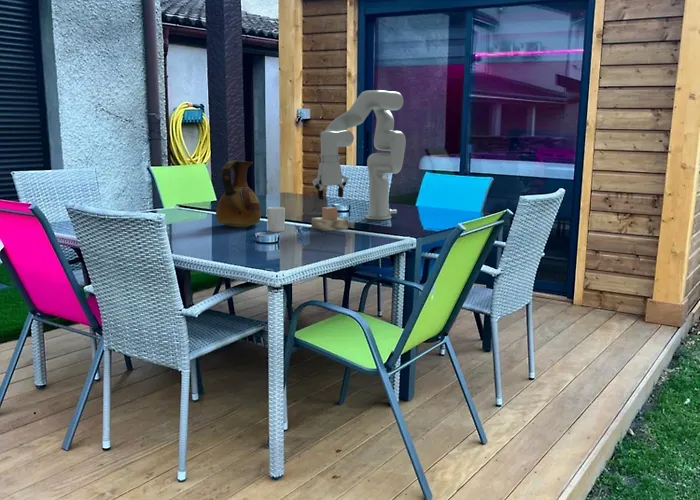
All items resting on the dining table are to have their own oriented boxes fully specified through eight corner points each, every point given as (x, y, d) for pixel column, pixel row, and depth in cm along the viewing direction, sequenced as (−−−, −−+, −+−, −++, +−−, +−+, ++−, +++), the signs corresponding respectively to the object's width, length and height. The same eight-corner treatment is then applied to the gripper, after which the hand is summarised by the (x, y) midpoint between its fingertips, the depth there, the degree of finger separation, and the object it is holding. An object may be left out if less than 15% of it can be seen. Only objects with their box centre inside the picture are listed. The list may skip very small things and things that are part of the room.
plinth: (335, 224, 310) (335, 216, 309) (347, 228, 299) (347, 219, 298) (311, 226, 304) (311, 218, 303) (323, 230, 294) (323, 221, 293)
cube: (332, 217, 304) (332, 206, 303) (337, 219, 300) (337, 208, 299) (322, 218, 302) (322, 207, 301) (327, 220, 297) (327, 208, 296)
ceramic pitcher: (269, 225, 308) (268, 159, 302) (244, 232, 290) (242, 162, 284) (233, 222, 316) (231, 157, 310) (207, 228, 298) (204, 160, 292)
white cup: (282, 232, 289) (282, 209, 287) (264, 231, 291) (264, 208, 289) (287, 229, 297) (287, 207, 295) (270, 228, 298) (270, 206, 296)
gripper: (343, 157, 303) (343, 195, 307) (308, 160, 295) (309, 198, 299) (351, 158, 296) (351, 197, 300) (315, 161, 288) (317, 201, 292)
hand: (330, 198), depth 300 cm, fingers open, 9 cm apart
